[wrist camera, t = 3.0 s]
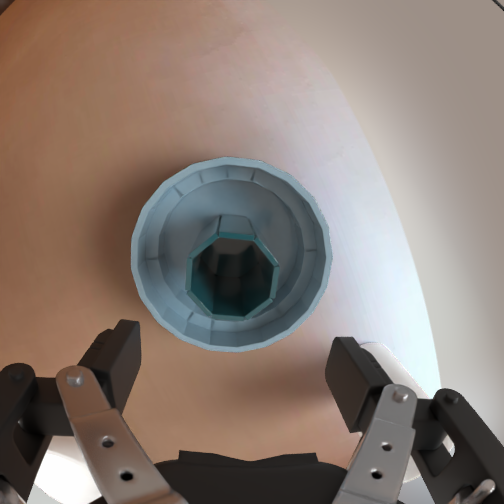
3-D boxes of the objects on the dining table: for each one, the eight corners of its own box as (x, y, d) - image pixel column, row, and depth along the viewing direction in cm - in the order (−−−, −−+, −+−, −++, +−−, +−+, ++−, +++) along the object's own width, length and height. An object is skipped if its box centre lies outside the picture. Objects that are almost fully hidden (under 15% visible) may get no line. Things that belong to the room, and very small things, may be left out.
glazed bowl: (323, 173, 29) (346, 173, 23) (298, 326, 32) (311, 355, 27) (155, 154, 27) (137, 150, 21) (147, 312, 31) (132, 341, 25)
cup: (322, 368, 34) (368, 470, 19) (379, 330, 34) (452, 414, 18) (348, 403, 36) (392, 493, 21) (399, 369, 36) (460, 447, 20)
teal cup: (267, 218, 29) (284, 238, 20) (259, 281, 30) (271, 323, 21) (201, 211, 28) (188, 228, 19) (196, 275, 30) (183, 316, 21)
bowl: (85, 489, 40) (76, 518, 32) (15, 413, 34) (-6, 442, 26) (181, 489, 40) (177, 527, 31) (109, 405, 34) (90, 448, 26)
